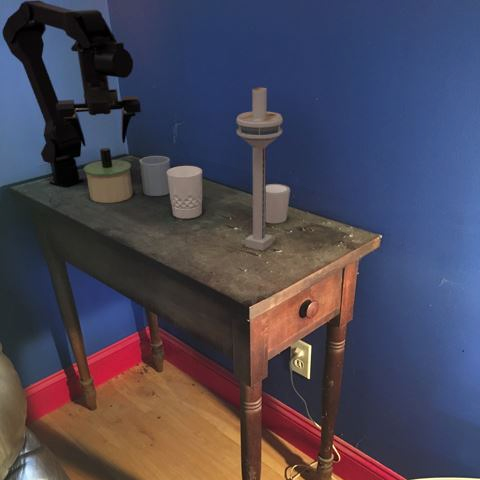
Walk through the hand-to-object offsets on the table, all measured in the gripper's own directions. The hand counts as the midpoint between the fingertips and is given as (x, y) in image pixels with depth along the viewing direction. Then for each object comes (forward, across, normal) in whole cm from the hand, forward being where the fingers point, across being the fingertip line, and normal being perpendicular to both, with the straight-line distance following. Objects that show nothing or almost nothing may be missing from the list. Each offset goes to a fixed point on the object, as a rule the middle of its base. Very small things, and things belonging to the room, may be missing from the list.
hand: (104, 144), depth 135 cm
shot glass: (+13, +35, -26) cm, 45 cm away
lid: (+6, 0, 0) cm, 6 cm away
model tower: (+13, +28, -39) cm, 49 cm away
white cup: (+13, +16, -18) cm, 27 cm away
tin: (+13, 0, 0) cm, 13 cm away
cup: (+13, +12, 0) cm, 17 cm away
